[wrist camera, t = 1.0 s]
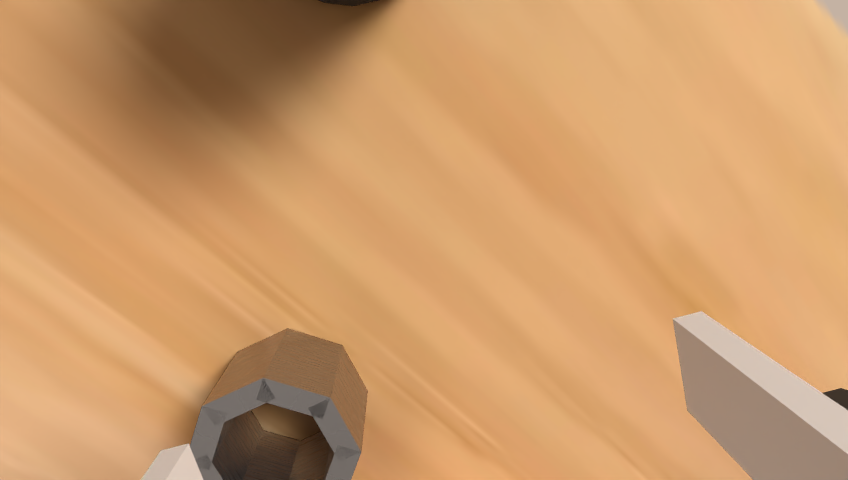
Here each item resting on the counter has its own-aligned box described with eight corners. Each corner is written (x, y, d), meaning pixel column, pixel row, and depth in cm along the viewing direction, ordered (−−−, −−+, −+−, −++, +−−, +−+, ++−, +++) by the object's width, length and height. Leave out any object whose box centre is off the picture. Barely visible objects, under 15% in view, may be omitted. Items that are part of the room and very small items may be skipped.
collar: (211, 434, 39) (172, 503, 32) (248, 316, 37) (214, 363, 30) (338, 470, 40) (326, 544, 33) (380, 357, 38) (376, 411, 32)
